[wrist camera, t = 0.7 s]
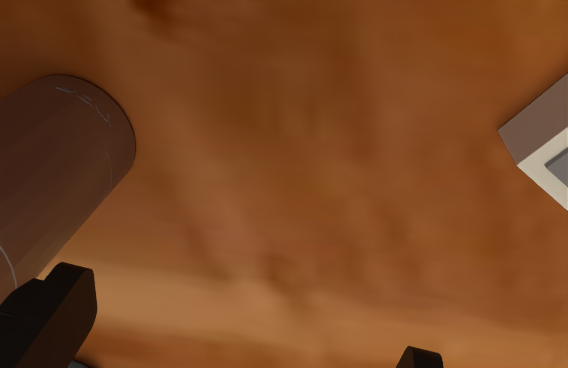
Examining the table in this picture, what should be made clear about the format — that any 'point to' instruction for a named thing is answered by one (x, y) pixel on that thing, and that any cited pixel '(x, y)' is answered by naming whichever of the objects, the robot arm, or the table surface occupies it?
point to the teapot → (76, 365)
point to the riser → (542, 140)
